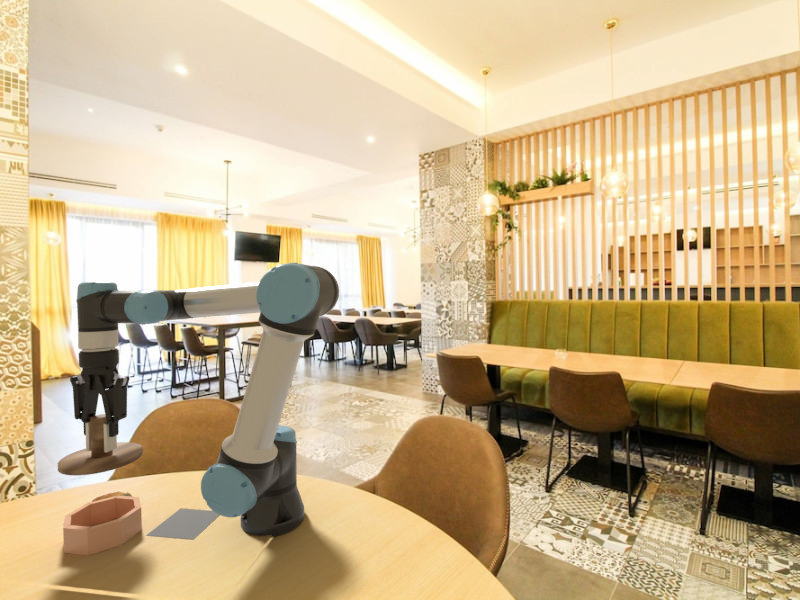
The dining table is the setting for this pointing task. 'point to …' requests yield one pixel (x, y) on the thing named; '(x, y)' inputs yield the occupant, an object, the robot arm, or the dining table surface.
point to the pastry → (112, 495)
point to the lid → (99, 454)
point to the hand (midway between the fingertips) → (101, 449)
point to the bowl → (102, 525)
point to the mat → (185, 524)
